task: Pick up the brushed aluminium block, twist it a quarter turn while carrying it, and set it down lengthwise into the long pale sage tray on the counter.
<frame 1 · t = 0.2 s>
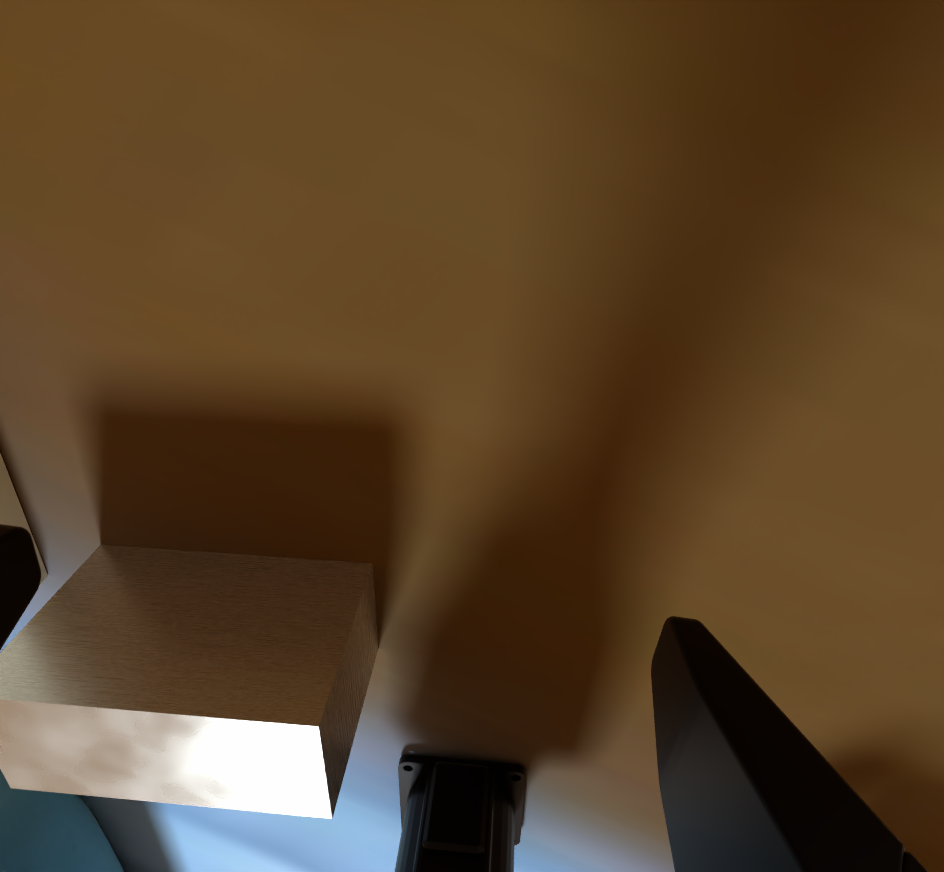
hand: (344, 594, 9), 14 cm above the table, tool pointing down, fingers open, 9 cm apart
duct block: (244, 596, 29), on the table
when the fingers open (5 cm above the table, at t = 9.5 s): duct block drops 1 cm, resting on tray.
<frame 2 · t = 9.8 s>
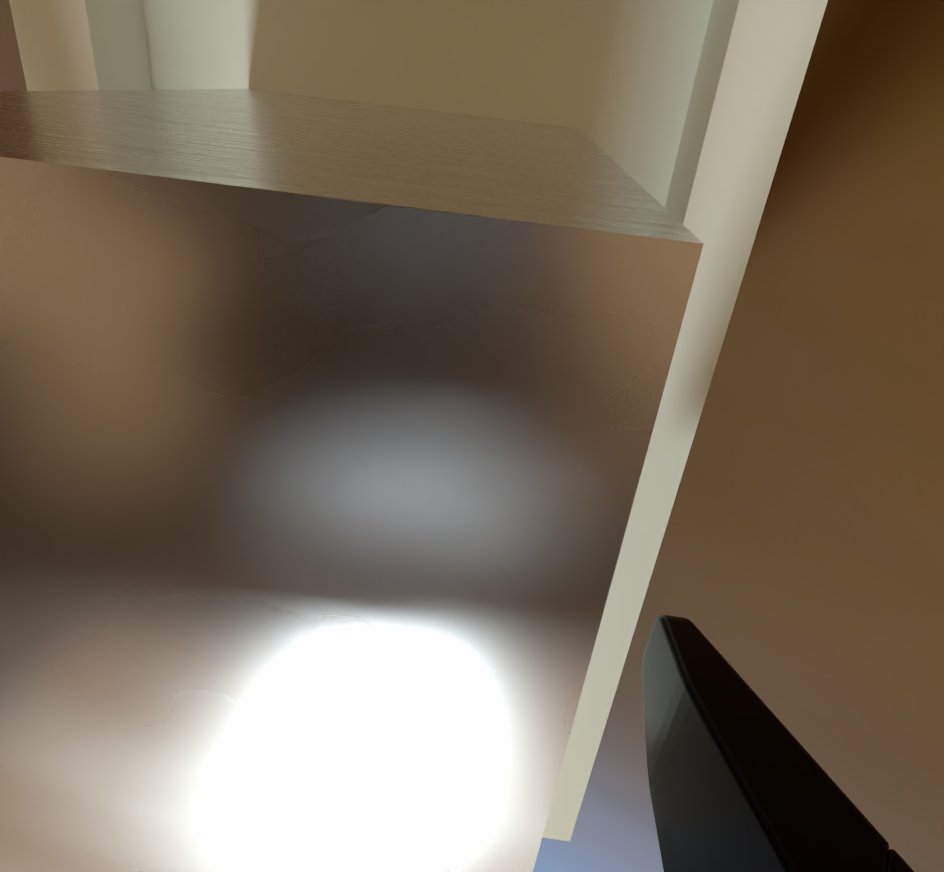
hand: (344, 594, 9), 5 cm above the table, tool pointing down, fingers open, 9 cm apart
duct block: (394, 452, 13), point 1 cm above the table, touching tray
tray: (402, 432, 13), on the table
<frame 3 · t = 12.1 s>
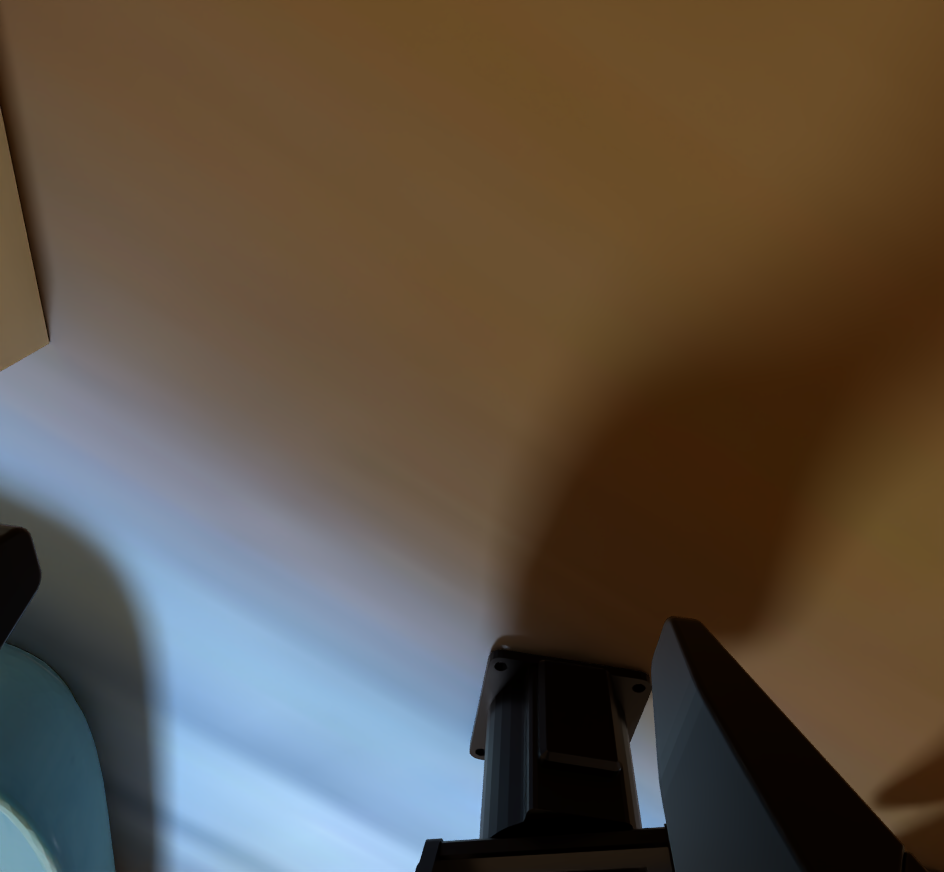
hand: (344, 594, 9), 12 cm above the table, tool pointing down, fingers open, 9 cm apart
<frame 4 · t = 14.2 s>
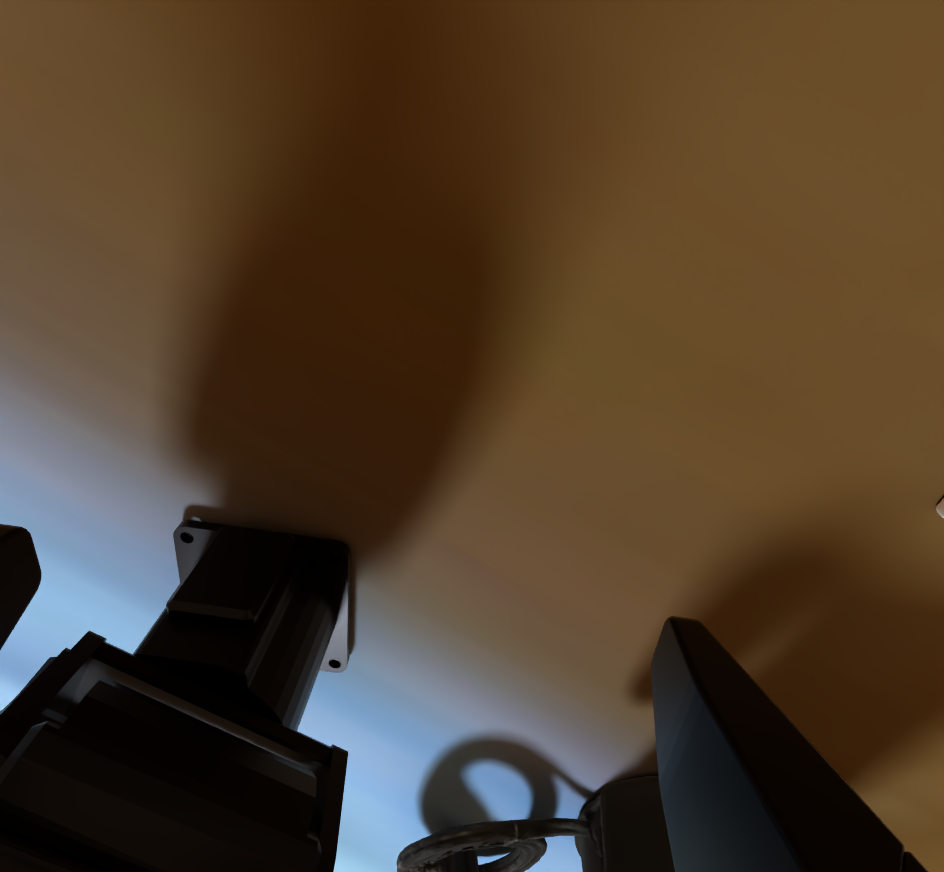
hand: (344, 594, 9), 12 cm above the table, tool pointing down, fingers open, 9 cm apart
milk frother: (585, 823, 31), on the table
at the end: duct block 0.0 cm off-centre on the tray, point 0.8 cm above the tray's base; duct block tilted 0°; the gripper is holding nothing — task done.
